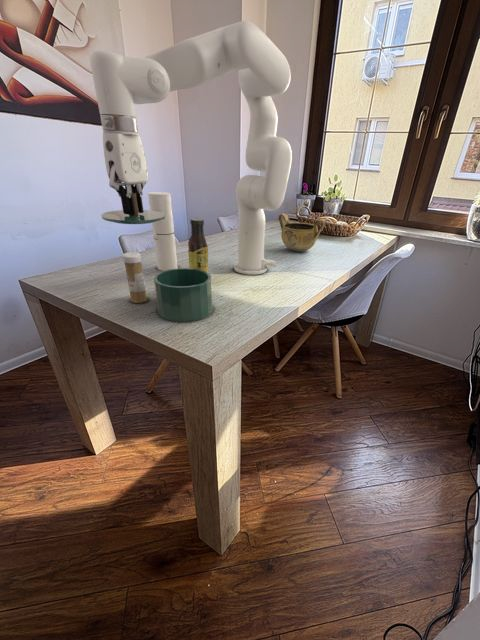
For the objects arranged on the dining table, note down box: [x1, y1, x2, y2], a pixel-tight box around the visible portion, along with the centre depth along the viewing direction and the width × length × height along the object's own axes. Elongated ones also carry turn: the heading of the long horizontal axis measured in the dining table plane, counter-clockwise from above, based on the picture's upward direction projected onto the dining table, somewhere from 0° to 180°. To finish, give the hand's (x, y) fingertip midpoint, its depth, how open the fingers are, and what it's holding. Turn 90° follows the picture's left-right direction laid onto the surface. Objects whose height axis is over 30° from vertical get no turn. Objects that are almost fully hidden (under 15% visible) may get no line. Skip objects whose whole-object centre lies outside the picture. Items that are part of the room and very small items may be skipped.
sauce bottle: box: [187, 217, 209, 273], centre depth 100 cm, size 7×6×20 cm
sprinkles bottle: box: [122, 251, 148, 304], centre depth 86 cm, size 5×5×13 cm
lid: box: [101, 193, 165, 225], centre depth 80 cm, size 16×16×6 cm
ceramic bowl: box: [278, 213, 327, 253], centre depth 142 cm, size 22×17×15 cm
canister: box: [153, 267, 213, 323], centre depth 84 cm, size 15×15×10 cm
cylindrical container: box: [147, 191, 178, 271], centre depth 109 cm, size 7×7×25 cm
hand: (133, 212), depth 81 cm, fingers closed on lid, 2 cm apart
